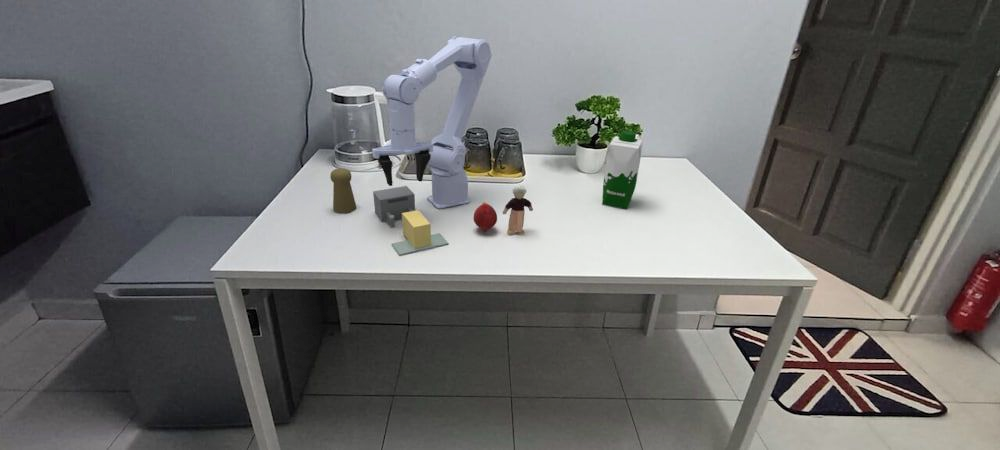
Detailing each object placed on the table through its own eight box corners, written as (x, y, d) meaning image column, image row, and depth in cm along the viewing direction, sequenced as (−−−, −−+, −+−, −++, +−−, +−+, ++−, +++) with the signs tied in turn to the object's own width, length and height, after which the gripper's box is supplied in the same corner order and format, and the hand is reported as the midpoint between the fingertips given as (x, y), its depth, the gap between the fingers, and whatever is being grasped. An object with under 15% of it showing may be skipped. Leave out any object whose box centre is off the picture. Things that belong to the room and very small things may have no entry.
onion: (499, 227, 124) (500, 198, 120) (492, 237, 119) (492, 208, 115) (478, 223, 125) (478, 195, 122) (469, 233, 120) (470, 204, 117)
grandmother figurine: (507, 238, 119) (509, 190, 113) (500, 231, 122) (502, 184, 116) (534, 232, 122) (538, 185, 116) (526, 225, 125) (529, 179, 119)
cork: (350, 214, 127) (345, 175, 122) (328, 212, 128) (323, 172, 123) (360, 205, 132) (356, 167, 127) (340, 202, 133) (335, 164, 128)
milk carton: (634, 199, 142) (646, 132, 133) (629, 211, 135) (641, 141, 126) (604, 193, 145) (614, 128, 136) (598, 205, 138) (607, 136, 129)
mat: (439, 234, 119) (439, 232, 119) (448, 244, 115) (448, 243, 115) (391, 244, 114) (391, 243, 114) (399, 255, 110) (399, 254, 110)
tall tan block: (418, 230, 120) (417, 210, 118) (431, 244, 114) (430, 223, 111) (403, 233, 118) (401, 213, 116) (414, 248, 112) (413, 227, 110)
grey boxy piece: (407, 206, 133) (406, 185, 130) (421, 221, 125) (420, 199, 123) (375, 212, 129) (373, 191, 126) (386, 228, 121) (384, 206, 118)
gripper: (377, 135, 109) (380, 192, 115) (437, 129, 115) (438, 183, 121) (368, 127, 114) (372, 182, 120) (426, 122, 121) (427, 174, 127)
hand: (404, 182), depth 121 cm, fingers open, 7 cm apart
